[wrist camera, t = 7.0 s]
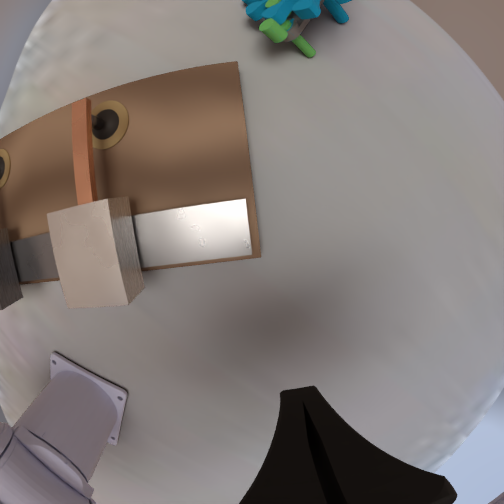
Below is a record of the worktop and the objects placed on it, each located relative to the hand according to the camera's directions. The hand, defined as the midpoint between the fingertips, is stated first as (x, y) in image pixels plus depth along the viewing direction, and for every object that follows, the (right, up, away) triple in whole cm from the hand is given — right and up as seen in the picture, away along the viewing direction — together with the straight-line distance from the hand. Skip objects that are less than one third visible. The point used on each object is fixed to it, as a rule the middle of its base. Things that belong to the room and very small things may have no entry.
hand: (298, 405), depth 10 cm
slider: (-11, +9, +5) cm, 15 cm away
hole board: (-13, +11, +7) cm, 18 cm away
